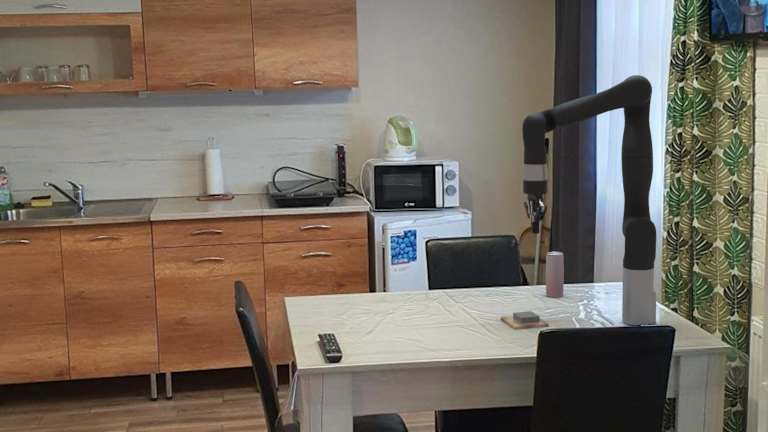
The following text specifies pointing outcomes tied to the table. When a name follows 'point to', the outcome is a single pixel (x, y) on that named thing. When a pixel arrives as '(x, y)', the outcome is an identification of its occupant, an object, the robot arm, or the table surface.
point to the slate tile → (526, 318)
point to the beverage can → (554, 274)
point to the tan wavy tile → (517, 326)
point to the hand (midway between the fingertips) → (535, 233)
